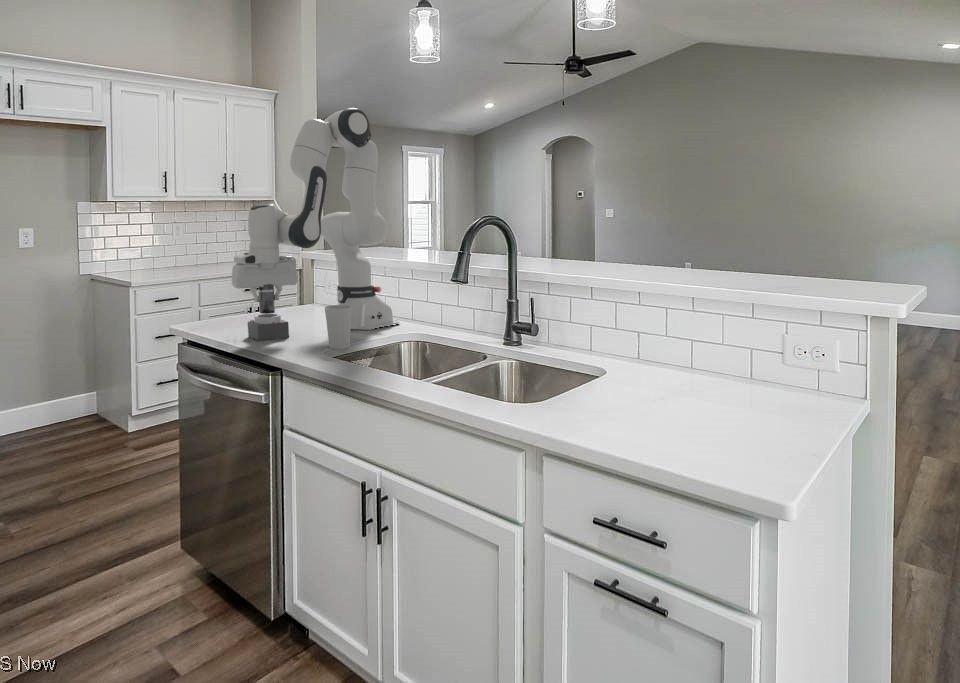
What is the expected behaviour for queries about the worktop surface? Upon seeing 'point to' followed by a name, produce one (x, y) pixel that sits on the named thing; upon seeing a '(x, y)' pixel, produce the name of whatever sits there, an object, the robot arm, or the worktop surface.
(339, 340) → the cup
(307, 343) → the worktop surface
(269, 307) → the lens
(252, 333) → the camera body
